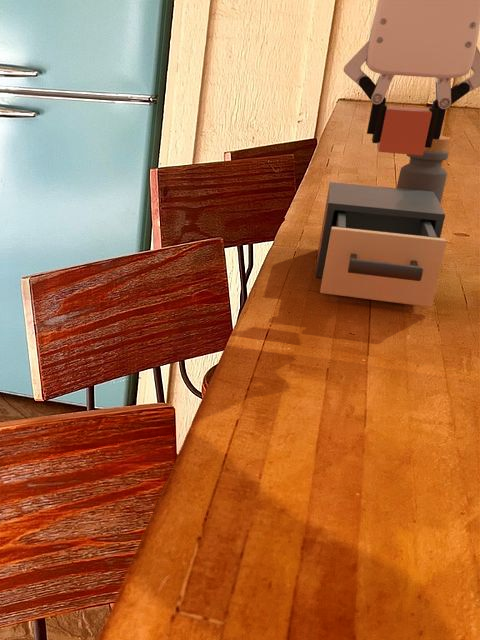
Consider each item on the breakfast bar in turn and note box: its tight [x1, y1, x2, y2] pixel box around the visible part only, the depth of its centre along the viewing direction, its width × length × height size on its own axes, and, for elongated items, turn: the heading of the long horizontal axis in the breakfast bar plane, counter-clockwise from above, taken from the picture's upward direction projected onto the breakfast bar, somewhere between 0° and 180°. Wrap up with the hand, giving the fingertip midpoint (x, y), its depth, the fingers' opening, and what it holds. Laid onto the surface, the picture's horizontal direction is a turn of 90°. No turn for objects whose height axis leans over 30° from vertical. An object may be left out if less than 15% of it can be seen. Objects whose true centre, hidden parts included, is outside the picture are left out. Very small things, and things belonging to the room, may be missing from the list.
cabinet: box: [315, 181, 446, 279], centre depth 110 cm, size 15×13×9 cm
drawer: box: [319, 211, 448, 308], centre depth 99 cm, size 18×11×7 cm, turn 160°
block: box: [376, 105, 432, 155], centre depth 95 cm, size 4×4×4 cm
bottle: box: [396, 135, 451, 206], centre depth 121 cm, size 6×6×15 cm
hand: (401, 142), depth 95 cm, fingers closed on block, 4 cm apart
